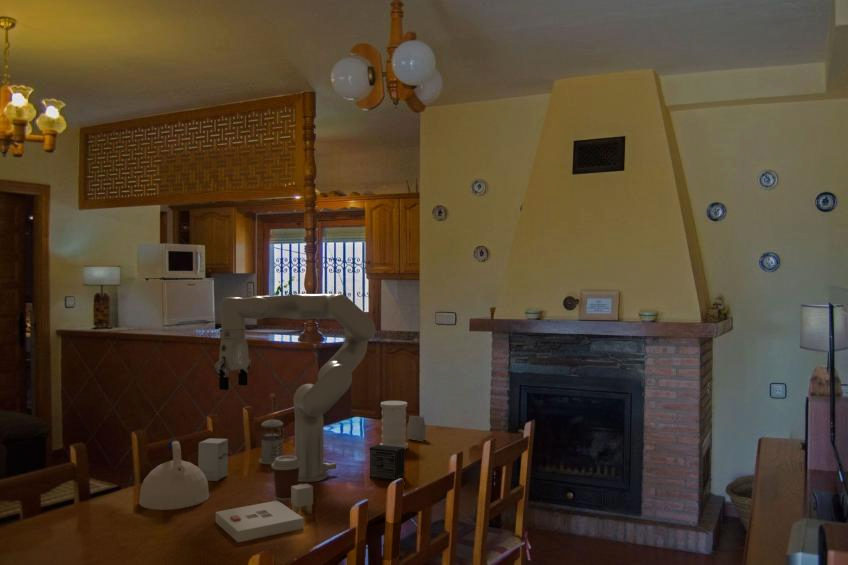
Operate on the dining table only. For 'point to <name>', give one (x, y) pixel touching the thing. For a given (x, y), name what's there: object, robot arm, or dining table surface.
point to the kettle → (174, 484)
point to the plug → (302, 497)
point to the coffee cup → (285, 475)
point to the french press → (271, 441)
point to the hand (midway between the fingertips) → (233, 387)
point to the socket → (258, 520)
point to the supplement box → (213, 458)
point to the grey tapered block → (416, 428)
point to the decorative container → (394, 423)
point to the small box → (386, 462)
